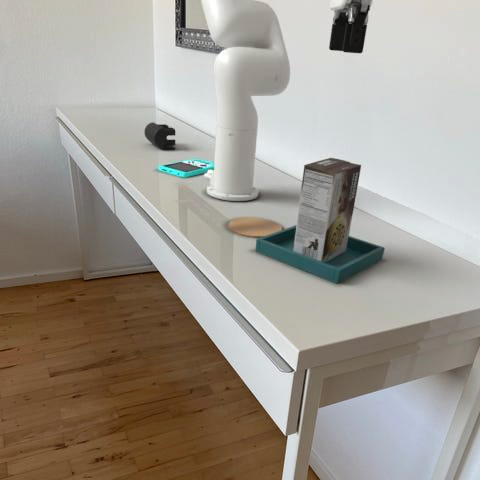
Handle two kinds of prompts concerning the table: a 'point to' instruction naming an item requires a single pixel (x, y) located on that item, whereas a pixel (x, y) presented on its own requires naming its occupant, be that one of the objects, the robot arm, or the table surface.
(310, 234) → the coffee box
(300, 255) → the tray
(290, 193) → the table surface
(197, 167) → the handheld game console
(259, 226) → the coaster
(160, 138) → the end cap
